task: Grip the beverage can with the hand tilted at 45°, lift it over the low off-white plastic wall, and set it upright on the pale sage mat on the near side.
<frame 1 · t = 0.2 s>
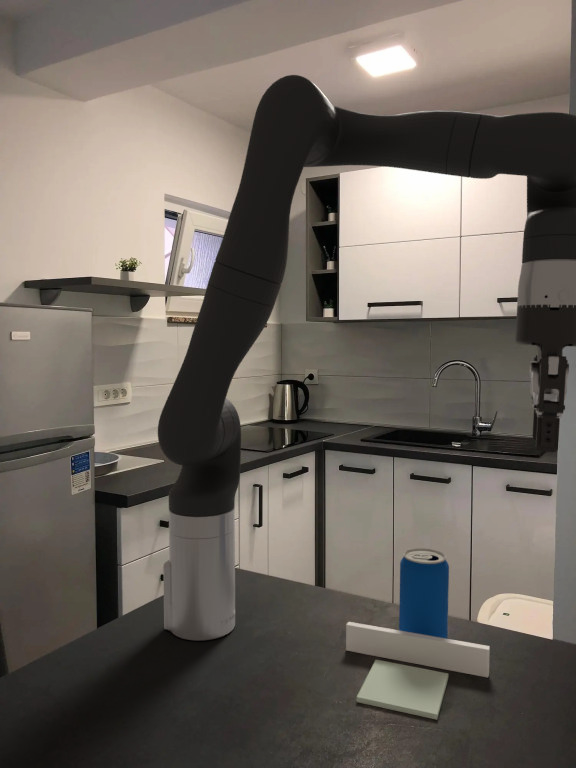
hand: (544, 445, 73), 29 cm above the countertop, tool pointing down, fingers open, 8 cm apart
beverage can: (422, 642, 86), on the countertop
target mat: (404, 689, 74), on the countertop
low wall: (414, 661, 81), on the countertop
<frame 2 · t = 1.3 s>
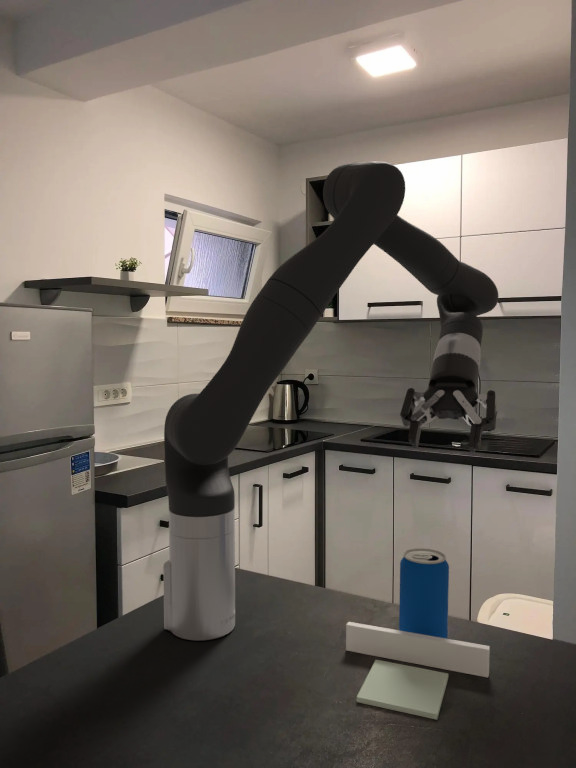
hand: (442, 447, 95), 25 cm above the countertop, tool tilted 45°, fingers open, 8 cm apart
nothing on the countertop moved.
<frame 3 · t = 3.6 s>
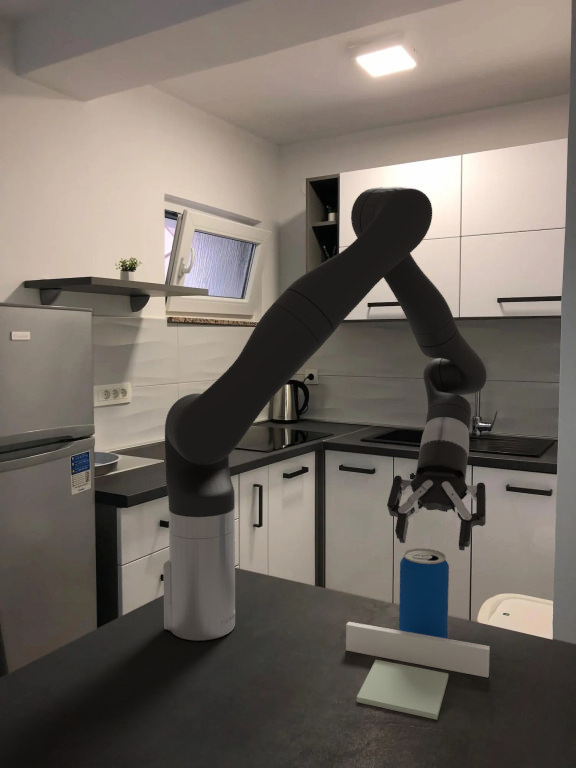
hand: (431, 544, 91), 12 cm above the countertop, tool tilted 45°, fingers open, 8 cm apart
nothing on the countertop moved.
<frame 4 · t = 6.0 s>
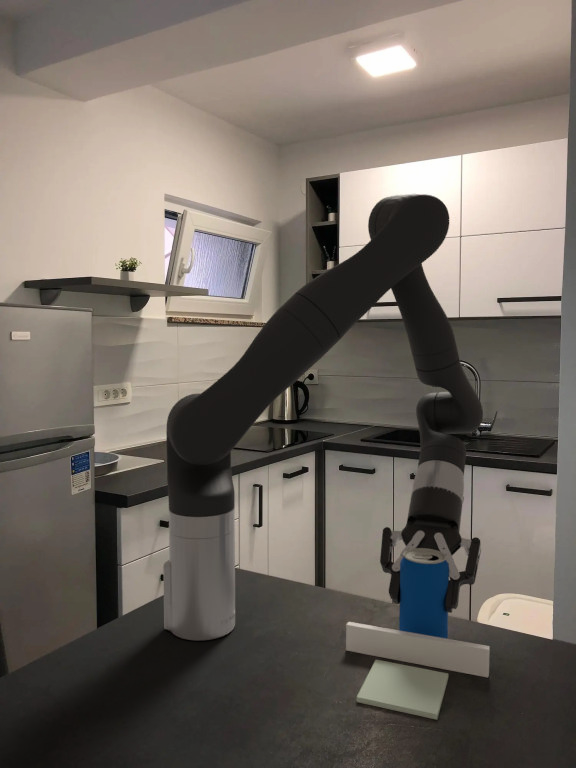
hand: (421, 605, 84), 6 cm above the countertop, tool tilted 45°, fingers closed on beverage can, 6 cm apart
beverage can: (423, 642, 86), on the countertop, touching gripper
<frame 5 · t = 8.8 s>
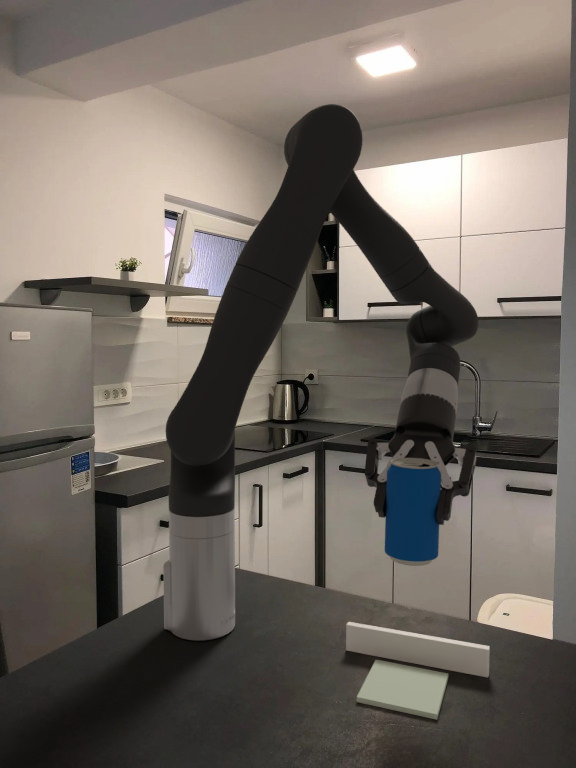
hand: (410, 517, 76), 20 cm above the countertop, tool tilted 45°, fingers closed on beverage can, 6 cm apart
beverage can: (410, 560, 78), point 14 cm above the countertop, touching gripper
when the fingers open (7 cm above the countertop, at t = 12.1 s): beverage can drops 1 cm, resting on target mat.
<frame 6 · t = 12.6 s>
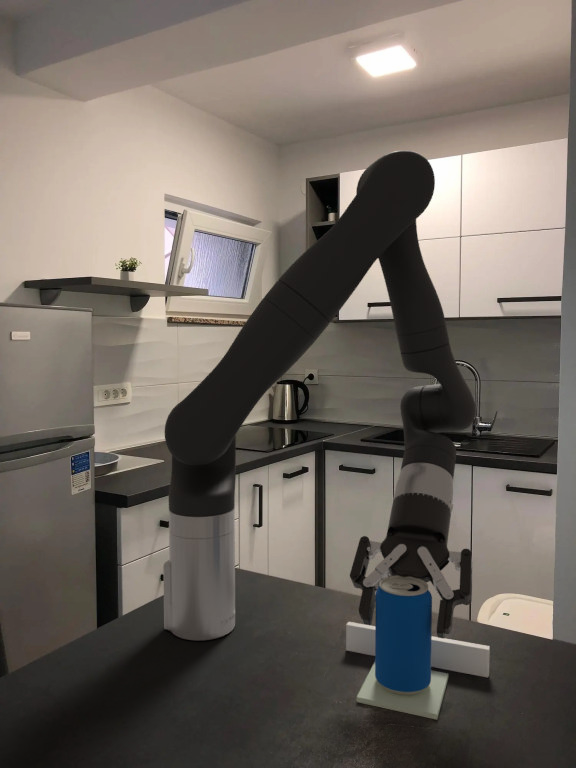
hand: (402, 629, 73), 8 cm above the countertop, tool tilted 45°, fingers open, 8 cm apart
beverage can: (402, 685, 75), resting on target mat
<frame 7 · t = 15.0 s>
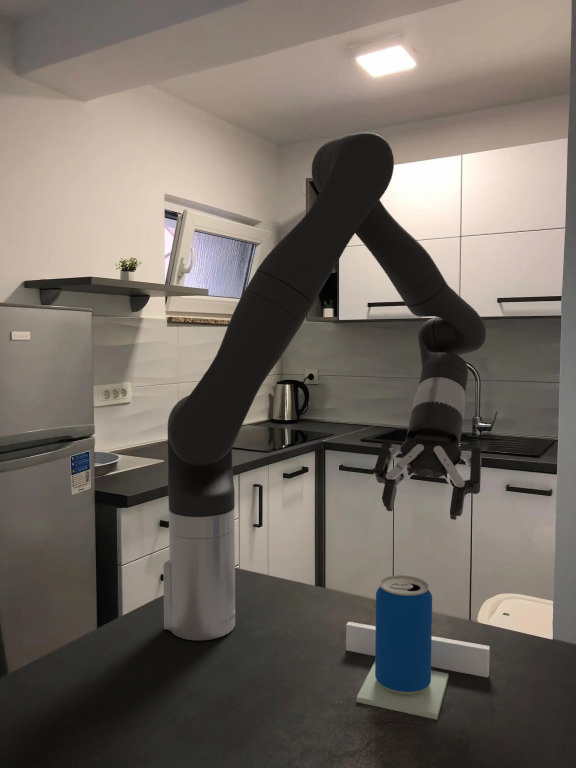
hand: (420, 512, 84), 18 cm above the countertop, tool tilted 45°, fingers open, 8 cm apart
nothing on the countertop moved.
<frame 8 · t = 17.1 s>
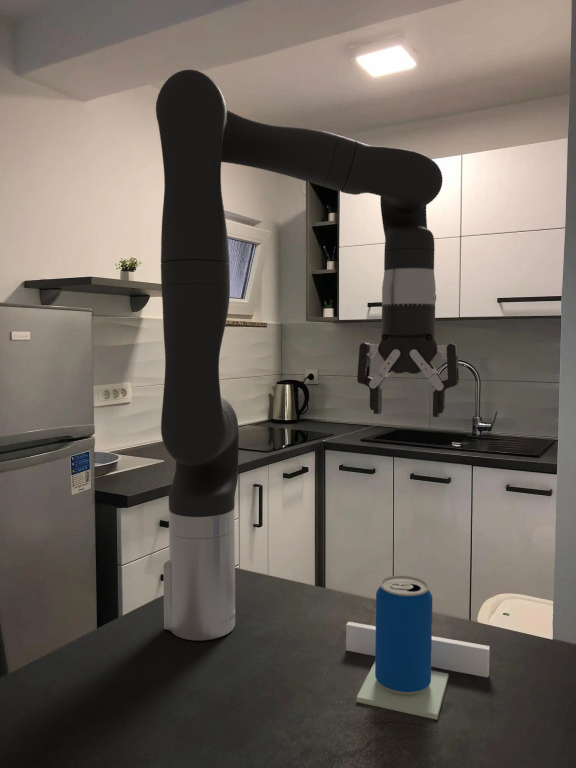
hand: (406, 415, 92), 30 cm above the countertop, tool pointing down, fingers open, 8 cm apart
nothing on the countertop moved.
at the end: beverage can inside the target area (0.3 cm from its centre), resting on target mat; beverage can tilted 0°; the gripper is holding nothing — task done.
